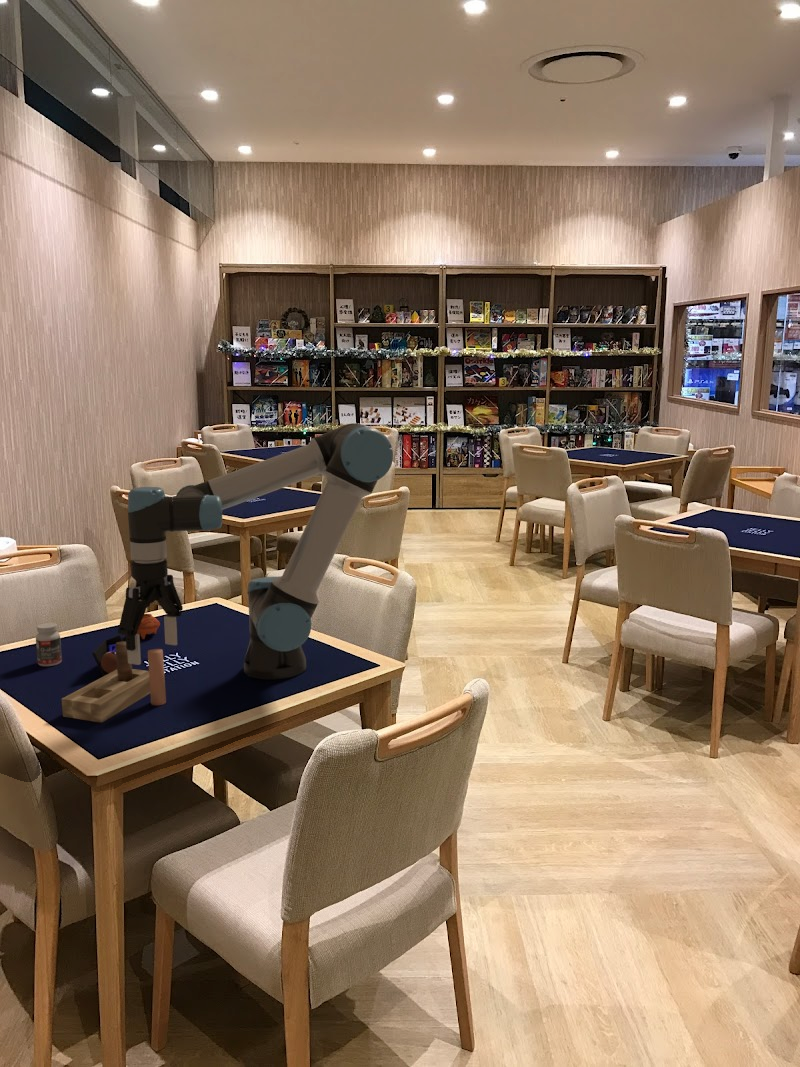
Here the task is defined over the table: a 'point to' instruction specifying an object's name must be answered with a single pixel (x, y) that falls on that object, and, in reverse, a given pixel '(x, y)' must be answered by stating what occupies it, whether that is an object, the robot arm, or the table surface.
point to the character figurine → (107, 655)
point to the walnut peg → (123, 663)
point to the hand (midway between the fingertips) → (153, 653)
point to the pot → (148, 625)
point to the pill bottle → (48, 645)
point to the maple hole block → (106, 696)
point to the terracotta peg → (156, 676)
